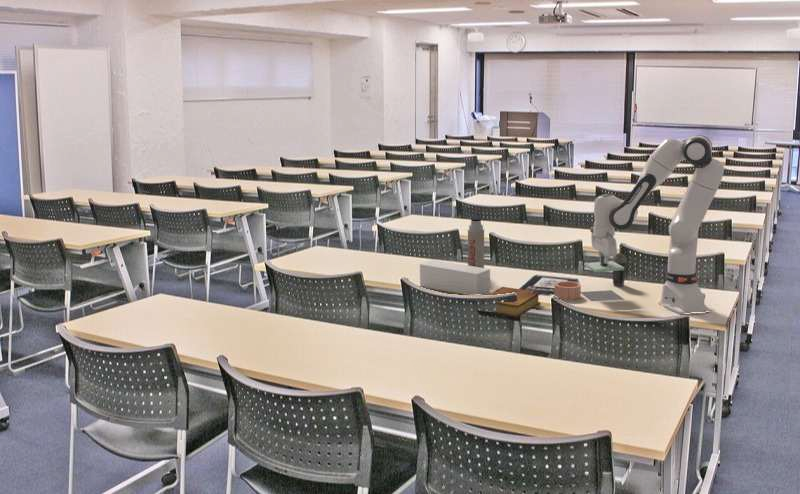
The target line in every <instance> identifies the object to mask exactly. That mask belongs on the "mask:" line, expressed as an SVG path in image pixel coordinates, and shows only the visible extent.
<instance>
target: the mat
mask: <svg viewBox="0 0 800 494" xmlns="http://www.w3.org/2000/svg"><path fill="white" fill-rule="evenodd" d="M581 295H582V296H584V297H585V298H587V300H589V301H591V302H603V301H604V302H605V301H623V300H625V298H623V297H622V296H621V295H619V294H617V293H616V292H615V291H613V290H593V291H581Z"/></svg>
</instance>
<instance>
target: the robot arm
mask: <svg viewBox="0 0 800 494" xmlns="http://www.w3.org/2000/svg"><path fill="white" fill-rule="evenodd" d="M712 154H713V144H712V141H711V140H710V138H708V137H707V136H705V135H702V134H698V135H696V134H695V135H692V136H691V137H688V138H686V139H685V140H682V141H679V140H678V139H675V138H671V137H670V138H669V137H668V138H666V139H664V140H663V141H662V142H661V143H660V144H659V145H658V147H657V148H656V149H654V151H653V152H652V153H651V155H650V156H649V157H648V158H647V161H646V162H645V164H644V166H643V168H642V170H641V171H640V172H641V173H640V174H639V178H638V180H637V182H636V183H635V186H634V187H633V189H632V190H631V191H630V193H629V194H628V195H627V196H626V198H625V199H624V200H623V199H621V198H618V197H617V196H616V195H614V194H613V193H604V194H601V195H598V196H596V198H595V199H594V205H593V206H594V207H593V216H594V222H593V227H592V226H591V227H590V233H591V247H592V248H593V249H595V250H597V251H598V256H599V259H600V258H601V256H605V257H604V259H603V261H604V263H605V264H608V263H609V261H610V257H613V256H616V254H618V253H617V251H618V248H617V246H618V245H617V240H616V238H615V237H614V236H615V235H616V232H615V231H616V230H619V231H621V230H622V231H623V230H626V229H627V230H628V229H629V228H630V227H631V226H632V225H633V223H634V221H635V220H636V219H637V216H638V209H639V207H640V206H641V205H642V203H643V202H644V200H645V199H646V198H647V197H648V195H649V194H650V193H652V191H653V190H655V189H656V188H657V187H659V186H660V185H661V184H662V183H663V182H665V181H666V180H667V179H668V178H669V177H670V175H671V174H672V173H673V172H674V170H675V169H676V168H677V167H678V165H679V164H680V163H682V162H683V161H687V162H688V163H689V164H691V166H693V167H694V168H695V170H694V172H693V175H692V176H691V179H690V180H689V181H690V182H689V184H688V186H687V188H686V190H685V191H684V193H683V196H682V198H681V200H680V202H679V205H678V206H677V209H676V211H675V213H674V215H673V217H672V219H671V221H670V224H668V225H669V226H668V233H669V237H670V238H669V239H670V240H669V249H668V256H667V257H668V259H667V260H668V261H667V270H666V274H665V276H666V277H665V280H666V281H665V283H664V284H663V286H662V290H661V291H662V292H661V298H660V301H658V303H657V304H658V305H660V306H662V307H663V308H665V309H668V310H669V311H671V312H673V313H677V314H679V315H683V314H682V313H691V312H706V311H710V312H711V309H710V308H709V307H708V306H706V304H705V299H706V293H704V292H702V291H701V288H700V287H699V285H698V276H697V272H696V265H697V264H696V263H697V250H698V249H697V248H698V239H699V229H700V228H701V226H702V223H703V220H704V218H705V216H706V214H707V212H708V210H709V207H710V206H711V203H712V202H713V200H714V197H715V195H716V194H717V191H718V189H719V187H720V185H721V182H722V179H723V175H724V172H725V166H724V164H723V163H722V162H721V161H719V160H718V159H716V158H714V157H713V156H712ZM615 229H616V230H615Z"/></svg>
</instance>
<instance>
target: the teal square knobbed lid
mask: <svg viewBox="0 0 800 494" xmlns="http://www.w3.org/2000/svg"><path fill="white" fill-rule="evenodd" d="M604 257H605V256H601V258H600V257H599V261H596V262H595V261H594V262H584V266H585V267H586V268H587V269H589V270H591V271H592V272H594V273H604V272H605V273H607V272H613V271H619V270H624V267H623V266H621V265H619V264H617V263H615V262H613V261H612V260H609V263H608V264H605V263H604V261H603V259H604Z"/></svg>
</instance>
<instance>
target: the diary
mask: <svg viewBox="0 0 800 494" xmlns="http://www.w3.org/2000/svg"><path fill="white" fill-rule="evenodd" d="M512 292H515V293H517V301H515V302H499V303H497V304H498V305H500V306H498V311H497V312H491V313H490V314H494V315H495V314H496V315H501V316H507V317H514V318H520V317H521V316H522V315H525V314H526V313H527V312H529V311H531V310H532V309H534V308H535V307H537V306H539V305H541V302H539V296H540V292H536V291H529V290H522V289H519V288H514V287H507V286H502V287H500V288H498V289H495V291H492V292H490V293H489V294H487V295H497V294H506V293H512Z"/></svg>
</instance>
